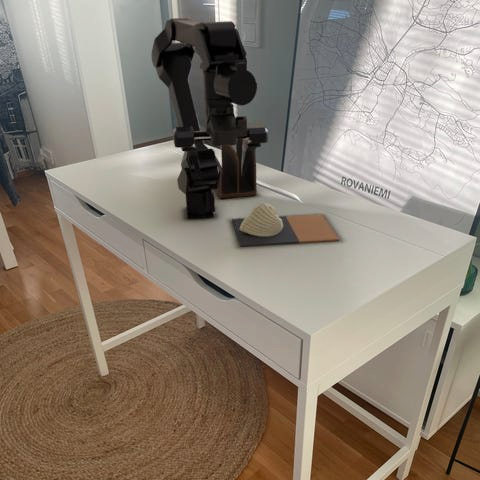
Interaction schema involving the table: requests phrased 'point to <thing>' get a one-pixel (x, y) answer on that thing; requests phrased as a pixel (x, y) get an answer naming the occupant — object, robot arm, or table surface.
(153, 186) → the table surface
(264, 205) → the seashell
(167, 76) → the robot arm
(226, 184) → the letter holder
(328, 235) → the desk pad
